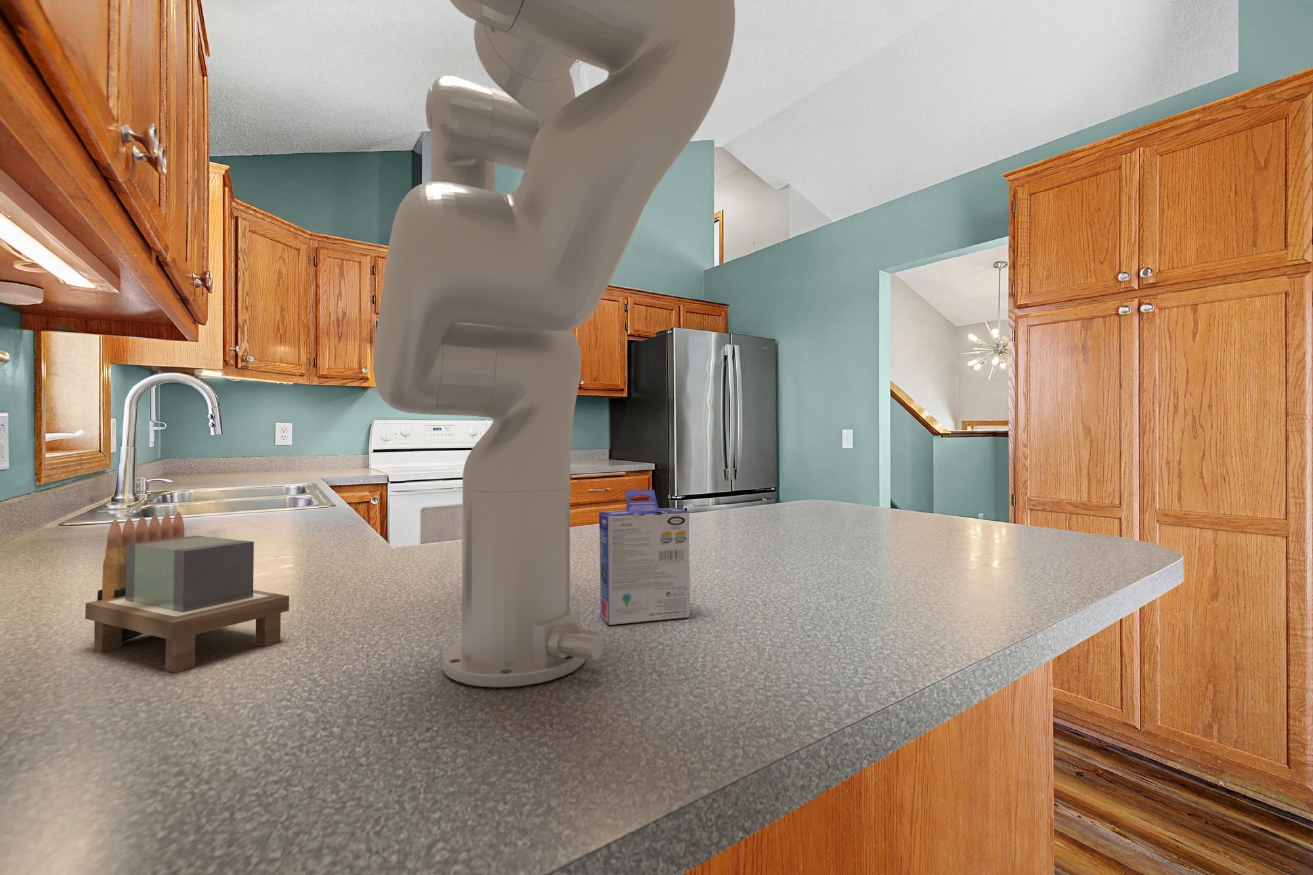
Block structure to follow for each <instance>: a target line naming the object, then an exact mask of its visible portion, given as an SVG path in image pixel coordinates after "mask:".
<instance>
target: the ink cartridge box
mask: <svg viewBox="0 0 1313 875" xmlns="http://www.w3.org/2000/svg"><path fill="white" fill-rule="evenodd" d="M624 492H625V503H626V509H625V510H609V511H605V510H604V511H599V512H598V521H599V522H598V523H599V530H598V531H599V569H600V570H599V571H600V572H599V574H600V576H599V577H600V579H599V580H600V583H599V584H600V590H599V592H600V594H599V595H600V598H599V599H600V606H599V607H600V608H599V609H600V612H599V614H600V616H601V618H602V620H604V622H605V623H606V625H608V626H609V625H610V626H613V625H614V626H615V625H622V624H632V623H634V624H635V623H644V622H650V621H664V620H673V619H674V620H675V619H685V618H689V617H690V616H691V610H690V609H691V604H690V603H691V597H690V596H691V592H690V591H691V590H690V589H691V588H690V512H689V511H688V510H684V509H680V508H677V507H666V508H659V505H658V501H657V497H656V494H655V489H626V490H625V491H624ZM637 496H645V497H649V498H650V500H648V501H647V500H642V501H641V500H640V501H636V500H635V501H633V500H632V498H634V497H637Z"/></svg>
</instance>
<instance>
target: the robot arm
mask: <svg viewBox="0 0 1313 875" xmlns="http://www.w3.org/2000/svg"><path fill="white" fill-rule="evenodd" d="M449 1H450V2H451V4H452V5H453V7H455V8H456V9H457V10H458V11H459V12H460V13H461V14H463V15H464V16H466V17H467V18H469V19H472V20H473V21H475V22H474V27H473V38H474V39H473V40H474V46H475V51H476V54H477V56H478V59H479V62H480V63H481V65H482V67H483V69H484V70H485V72H486V73H487V75H488V77H490V79H491V80H492V81H493V83H495V84H496V85H497V87H499V88H500V89H498V88H495V87H493V86H488V85H485V84H481V83H479V82H475V81H472V80H469V79H466V78H463V77H459V76H456V75H449V74H448V75H447V74H446V75H440V76H439V77H437V78H436V79H435V80H434V82H433V84H432V86H429V87H428V90H427V93H426V102H425V117H426V124H427V125H426V126H427V128H428V129H429V132H430V146H431V148H430V149H431V151H430V155H431V156H430V158H431V159H430V166H431V167H430V181H427V182H424V183H421V184H420V183H419V185H416V186H414V187H413V188H412V189H410V190H409V191H408V193H407V194H406V195H405V197H404V198H402V200H401V202H400V204H399V206H398V209H397V210H396V214H395V216H394V220H393V223H392V228H391V233H390V237H389V242H388V248H387V254H386V262H385V268H384V275H383V284H382V291H381V297H380V304H379V311H378V317H377V323H376V331H375V335H374V336H375V338H374V348H373V353H372V354H373V356H372V357H373V358H372V362H373V364H372V367H373V368H372V370H373V371H372V372H373V378H374V383H375V388H376V389H377V392H378V394H379V395H380V397H381V399H382V400H383V402H384V403H386V405H389V407H390V408H393V410H397V411H400V412H403V413H409V414H416V415H431V416H432V415H433V416H461V417H464V416H465V417H466V416H467V417H481V418H489V419H492V423H491V425H490V426H489V428H488V429H487V430H486V431H485V433H484V434H483V435H482V436H481V437H480V439H479V440H478V441H477V442H476V443H475V445H474V446H473V447H472V448H471V450H470V452H469V454H468V455H467V458H466V460H465V463H464V466H463V471H462V505H461V506H462V507H461V508H462V512H461V513H462V514H461V515H462V518H461V519H462V522H461V523H462V529H461V531H462V533H461V534H462V535H461V537H462V538H461V539H462V540H461V542H462V543H461V544H462V545H461V547H462V548H461V569H462V570H461V640H459V641H457V642H456V643H454V644H452V645H451V646H450V647H448V648H447V649H446V650H445V651H444V653H443V656H442V667H441V668H442V670H443V673H444V675H446V676H447V677H448V678H449V679H451V680H453V681H455V682H457V683H462V684H465V685H469V686H473V687H474V686H475V687H480V688H481V687H484V688H512V687H513V688H514V687H523V686H532V685H535V684H536V685H537V684H541V683H546V682H549V681H553V680H555V679H558V678H559V679H560V678H562V677H564V676H566V675H568V674H570V673H573V672H574V671H576V670H578V669H579V668H580V667H581V666H582V665H583V664H584V663H585V661H586V660H591V661H597V660H599V659H600V658H601V656H602V654H603V651H604V641H605V631H604V629H602V628H595V627H583V625H582V623H581V609H579V608H573V607H572V608H571V604H570V603H571V595H570V594H571V588H570V587H571V585H570V584H571V573H570V572H571V560H570V559H571V549H570V548H571V519H570V518H571V506H570V505H571V458H572V457H571V455H572V454H571V452H572V438H573V437H572V434H573V423H574V417H575V416H574V415H575V414H574V413H575V410H576V409H575V408H576V402H577V397H578V390H579V384H580V379H581V373H582V372H581V371H582V351H581V347H580V344H579V341H578V339H577V337H576V336H575V334H574V333H573V331H571V330H574V329H576V328H579V327H580V326H582V325H583V324H585V323H586V322H587V321H588V320H589V319H590V317H592V315H593V313H594V312H595V311H596V309H597V307H598V306H599V303H600V302H601V300H602V297H603V296H604V294H605V292H606V291H607V288H608V285H609V283H610V282H611V280H612V277H613V275H614V273H615V271H616V269H617V267H618V265H619V263H620V260H621V258H622V256H623V254H624V252H625V249H626V248H627V246H628V244H629V241H630V239H631V237H632V236H633V233H634V231H635V228H636V227H637V224H638V222H639V220H640V219H641V218H640V217H641V215H642V213H643V211H644V209H645V207H646V205H647V203H648V201H649V199H650V197H651V196H652V194H653V193H654V190H655V189H656V187H657V186H658V185H659V183H660V182H661V180H662V179H663V177H664V176H665V175H666V173H667V172H668V171H669V169H670V168H671V167H672V166H673V164H674V162H675V161H676V159H678V157H679V156H680V155H681V153H683V151H684V150H685V148H686V147H687V146H688V144H690V141H691V140H692V138H693V137H694V136H695V134H696V132H697V131H698V130H699V128H700V127H701V125H702V123H703V121H704V120H705V118H706V117H707V115H708V113H709V112H710V109H711V108H712V106H713V103H714V102H715V99H716V97H717V95H718V93H719V90H720V88H721V87H722V86H721V85H722V83H723V81H724V78H725V75H726V72H727V69H728V66H729V62H730V58H731V53H732V49H733V45H734V44H733V43H734V40H735V39H734V37H735V30H736V6H735V0H449ZM576 61H580V62H582V63H585V64H588V65H591V66H594V67H597V68H599V69H601V70H604V71H606V72H607V73H608V75H607V78H606V79H605V80H604V81H602V82H600V83H599V84H597V85H595V86H593V87H591V88H589V89H588V90H585V91H584V92H582V93H580V94H578V95H577V96H576V91H575V86H574V80H573V78H572V75H571V72H570V70H571V68H573V66H574V64H575V63H576ZM496 164H499V165H503V166H507V167H511V168H514V169H517V170H521V171H522V170H523V171H524V172H523V175H522V178H521V181H520V183H519V186H518V187H517V188H516V189H515V190H514V191H512V192H506V193H503V192H496V191H495V188H496V187H495V186H496V184H495V180H496V178H495V177H496V175H495V174H496V168H495V166H496Z"/></svg>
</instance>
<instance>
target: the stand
mask: <svg viewBox="0 0 1313 875" xmlns="http://www.w3.org/2000/svg"><path fill="white" fill-rule="evenodd" d="M289 611H290V595H286V594H281V593H280V594H279V593H275V592H274V593H273V592H268V591H262V590H255V589H253V597H252V598H247V599H243V600H238V601H234V602H229V603H224V604H220V605H215V606H211V607H206V608H201V609H197V610H192V611H188V612H178V611H174V610H169V609H164V608H159V607H155V606H150V605H145V604H140V603H135V602H131V601H126V600H125V596H122V597H119V598H111V599H105V600H100V601H97V600H96V601H90V602H85V615H84V618H85V620H89V621H93V622H94V627H93V628H94V632H93V633H94V635H93V636H94V637H93V638H94V639H93V649H94V651H98V652H106V651H110V650H114V649H119V648H122V645H123V644H122V642H123V640H122V628H125V629H129V630H133V631H137V632H141V633H140V634H146V635H150V636H154V637H158V638H161V639H165V671H168V672H170V673H174V674H175V673H179V672H182V671H186V670H189V669H192V668H195V667H196V635H198V634H201V633H202V634H203V633H206V632H210V631H214V630H218V629H222V628H226V627H229V626H230V627H231V626H234V625H238V624H242V623H246V622H249V621H255V645H258V646H262V647H267V646H271V645H273V644H277V643H280V642H281V630H282V629H281V626H282V624H281V623H282V622H281V619H282V613H285V612H289Z"/></svg>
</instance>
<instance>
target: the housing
mask: <svg viewBox="0 0 1313 875" xmlns="http://www.w3.org/2000/svg"><path fill="white" fill-rule="evenodd" d="M254 551H255V541H249V540H242V539H233V538H232V539H231V538H223V537H214V536H203V535H189V536H185V537H180V538H171V539H162V540H154V541H145V542H137V543H128V544H126V595H125V600H126V601H131V602H135V603H140V604H145V605H150V606H155V607H159V608H164V609H169V610H174V611H178V612H188V611H192V610H197V609H201V608H206V607H211V606H215V605H220V604H224V603H229V602H234V601H238V600H243V599H247V598H252V597H253V590H254V570H255V569H254V567H255V566H254V565H255V564H254V560H255V558H254V556H255V555H254V554H255V552H254Z"/></svg>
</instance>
